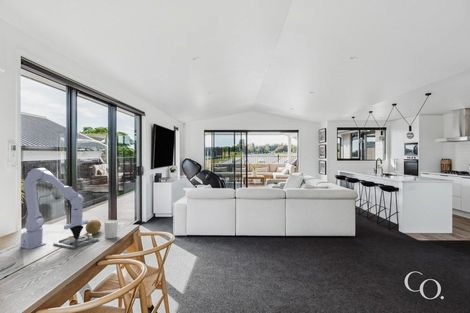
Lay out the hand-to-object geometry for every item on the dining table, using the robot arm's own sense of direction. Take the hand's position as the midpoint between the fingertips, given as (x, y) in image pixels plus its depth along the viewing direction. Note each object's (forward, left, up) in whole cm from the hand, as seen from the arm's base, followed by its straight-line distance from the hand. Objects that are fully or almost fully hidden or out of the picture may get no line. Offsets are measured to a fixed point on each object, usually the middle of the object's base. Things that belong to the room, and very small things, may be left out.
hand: (76, 238), depth 161 cm
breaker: (-4, 0, -1) cm, 4 cm away
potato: (+18, +7, -3) cm, 20 cm away
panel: (0, 0, -3) cm, 3 cm away
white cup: (+17, -9, -3) cm, 20 cm away
